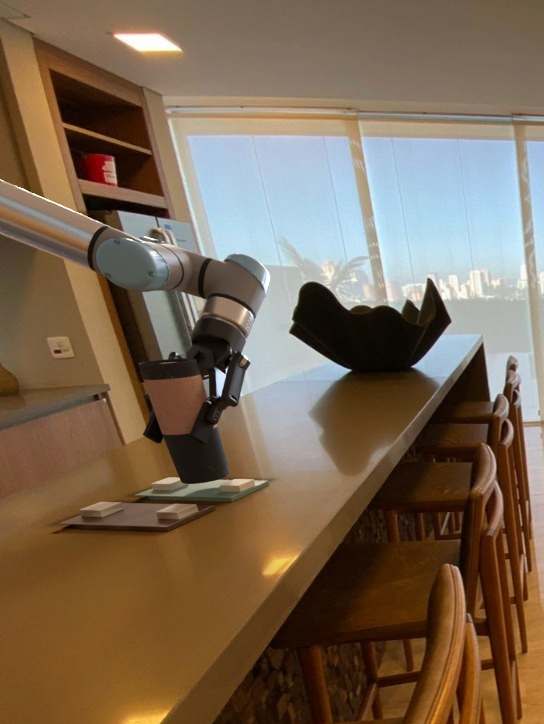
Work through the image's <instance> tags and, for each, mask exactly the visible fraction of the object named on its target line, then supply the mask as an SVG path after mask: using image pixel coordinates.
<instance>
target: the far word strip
mask: <svg viewBox="0 0 544 724" xmlns="http://www.w3.org/2000/svg"><path fill="white" fill-rule="evenodd" d="M150 485H151V488H150V489H147V490H144V491H142V492H139V493H136V494H135V496H142V497H140V498H137V500H139V501H140V500H141V501H143V500H144V501H176V502H177V501H179V502H182V501H183V502H217V503H218V502H220V503H221V502H222V503H233V502H235V501H238V500H240V499H241V498H244V497H246V496H248V495H251V494H252V493H255V492H256V491H259V490H261V489H264V488H265V487H268V486H269V485H270V483H269V480H255V479H254V478H234V479H219V480H215V481H211V482H206V483H199V484H184V483H182V482H181V480H180V478H179V477H175V476H173V477H172V476H170V477H169V476H168V477H166V478H163V479H160V480H158V481H155V482H152V483H150Z"/></svg>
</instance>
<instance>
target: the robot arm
mask: <svg viewBox="0 0 544 724" xmlns="http://www.w3.org/2000/svg"><path fill="white" fill-rule="evenodd" d="M0 235H2V236H4V237H7V238H8V239H12V240H13V241H17V242H18V243H21V244H24V245H27V246H29V247H32V248H35V249H36V250H39V251H42V252H44V253H47V254H50V255H52V256H55V257H57V258H59V259H62V260H65V261H68V262H70V263H73V264H75V265H78V266H80V267H82V268H85V269H88V270H90V271H93V272H95V273H97V274H99V275H102V276H104V278H106V279H107V280H109V281H110V282H111V283H113V284H114V285H116V286H118V287H121V288H123V289H125V290H129V291H130V290H131V291H134V292H138V293H149V292H156V291H157V292H158V291H159V292H160V291H162V292H163V291H164V292H166V291H167V292H173V291H175V292H180V293H184V294H187V295H191V296H194V297H197V298H201V299H203V300H206V301H205V302H204V305H203V307H202V309H201V311H200V312H199V315H198V319H197V320H196V322H195V324H194V326H193V329H192V330H191V332H190V340H191V346H190V348H188V350H187V351H186V352H185V353H181V354H178V353H177V352H176V351H171V352H170V353H169V354H168V357H167V359H183V358H184V359H189V360H194V359H196V361H197V364H198V368H199V371H200V374H201V377H202V379H203V378H205V376H208V392H209V393H208V398H209V399H208V398H206V399H207V400H209V402H210V403H208V402H203V405H202V407H201V409H200V412H199V414H198V416H197V419H196V421H195V423H194V426H193V428H192V430H191V433H190V435H189V436H191V437H192V438H194V439H195V440H197V441H198V442H200V443H201V444H207V441H208V439H209V437H210V434H211V432H212V429H213V427H214V425H216V424H217V425H218V423H219V421H220V419H221V417H222V413H223V412H224V411H225V410H226V409H228V407H232V408H236V407H237V406H238V405H239V401H240V398H241V393H242V388H243V384H244V380H245V376H246V371H247V370H248V368H249V367H250V365H251V363H252V362H251V360H250V359H249V358H248V357H247V356H246V355H244V354H243V351H244V347H245V345H246V343H247V339H248V338H249V335H250V333H251V330H252V328H253V326H254V323H255V320H256V318H257V316H258V313H259V311H260V309H261V307H262V305H263V302H264V300H265V298H266V297H267V291H268V288H269V286H270V283H271V282H270V281H271V275H270V272H269V271H268V270H267V268H266V267H265V266H264V265H263V264H262V263H261V262H260V261H258V260H257V259H256V258H254V257H251V256H250V255H247V254H244V253H238V254H237V253H230V254H229V255H227V256H226V258H224V259H223V261H222V260H220V259H216V258H213V257H208V256H205V255H202V254H199V253H196V252H193V251H192V250H188V249H185V248H183V247H180V246H177V245H174V244H171V243H169V242H167V241H164V240H160V239H155V238H152V237H150V236H149V237H148V236H138V237H136V236H133V235H131V234H129V233H127V232H125V231H122V230H120V229H117V228H115V227H112V226H109V225H107V224H105V223H103V222H100V221H98V220H96V219H93V218H91V217H88V216H86V215H84V214H82V213H79V212H77V211H75V210H73V209H70V208H68V207H66V206H63V205H61V204H58V203H56V202H54V201H52V200H49V199H46V198H44V197H42V196H40V195H37V194H35V193H32V192H31V191H28V190H26V189H24V188H21V187H18V186H17V185H14V184H12V183H9V182H8V181H5V180H2V179H0ZM145 398H146V399H147V400H149V401H150V402H151V400H150V397H149V394H148V392H147V393H146V394H145ZM148 415H149V416H148V422H147V424H146V427H145V428H144V431H143V433H142V436H143V437H144V438H147V439H148V440H150V441H151V442H154V443H155V444H162V442H163V440H164V438H163V434H162V432H161V429H160V426H159V424H158V421H157V418H156V415H155V412H154V409H153V408H152V409H151V411H150V413H149V414H148Z"/></svg>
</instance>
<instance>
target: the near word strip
mask: <svg viewBox="0 0 544 724" xmlns="http://www.w3.org/2000/svg"><path fill="white" fill-rule="evenodd" d="M214 511H216V507H215V504H214V505H213V504H196V503H194V504H193V503H141V502H139V503H137V502H120V501H119V502H118V501H99V502H97V503H94V504H91V505H89V506H86V507H83V508H80V509H78V512H79V514H80V515H77V516H75V517H72V518H69V519H66V520H64V521H60V522H59V524H63V525H64V524H66V525H67V526H64V527H62V529H71V530H72V529H73V530H104V531H131V532H133V531H134V532H135V531H136V532H166V533H167V532H171V531H172V530H174V529H175V530H176V529H177V528H179V527H181V526H183V525H185V524H187V523H190V522H192V521H195V520H197V519H198V518H201V517H203V516H205V515H207V514H209V513H211V512H214Z"/></svg>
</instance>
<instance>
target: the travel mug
mask: <svg viewBox="0 0 544 724" xmlns="http://www.w3.org/2000/svg"><path fill="white" fill-rule="evenodd" d="M138 367H139V370H140V374H141V376H142V379H143V383H144V385H145V387H146V391H147V393H148V394H149V397H150V400H151V401H150V400H149V401H150V402H151V406H152V409H154V412H155V415H156V418H157V421H158V424H159V426H160V429H161V432H162V434H163V440H164V442H165V446H166V448H167V450H168V453H169V456H170V458H171V460H172V463H173V466H174V468H175V471H176V473H177V476H178V478H180V480H181V482H182V483H184V484H199V483H206V482H211V481H215V480H223V479H224V478H227V477H229V476H230V474H231V472H230V467H229V464H228V459H227V456H226V454H225V449H224V445H223V441H222V438H221V433H220V430H219V427H218V423H217V424H216V425H214V427H213V429H212V432H211V434H210V437H209V439H208V441H207V444H201V443H200V442H198V441H197V440H195V439H194V438H192V437H191V436H189V435H190V433H191V430H192V428H193V426H194V423H195V421H196V419H197V416H198V414H199V412H200V409H201V407H202V405H203V402H208V403H210V404H211V402H210V401H209V400H207V399H206V398H208V397H209V394H208V393H207V389H206V386H205V383H204V381H203V378H202V377H201V374H200V371H199V368H198V364H197V361H196V359H194V360H189V359H184V358H183V359H168V358H167V359H155V360H148V361H147V360H146V361H142V362H139V363H138ZM208 399H209V398H208Z"/></svg>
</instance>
